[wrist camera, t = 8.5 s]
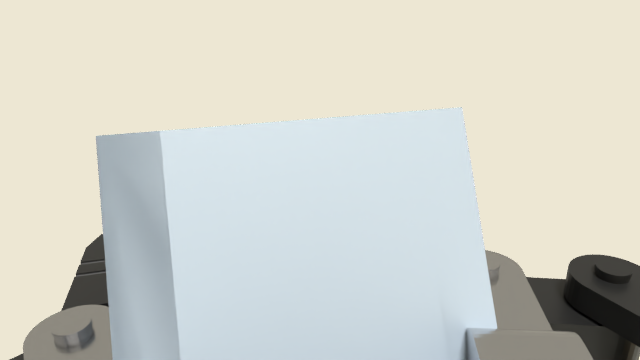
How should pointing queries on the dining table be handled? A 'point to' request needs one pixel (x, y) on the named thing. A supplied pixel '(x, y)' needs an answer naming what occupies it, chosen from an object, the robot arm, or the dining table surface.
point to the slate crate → (295, 240)
